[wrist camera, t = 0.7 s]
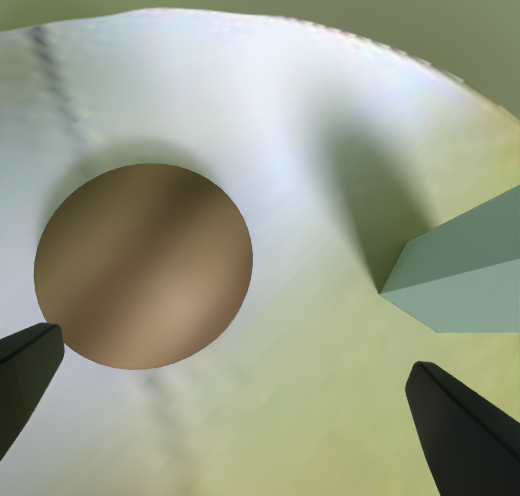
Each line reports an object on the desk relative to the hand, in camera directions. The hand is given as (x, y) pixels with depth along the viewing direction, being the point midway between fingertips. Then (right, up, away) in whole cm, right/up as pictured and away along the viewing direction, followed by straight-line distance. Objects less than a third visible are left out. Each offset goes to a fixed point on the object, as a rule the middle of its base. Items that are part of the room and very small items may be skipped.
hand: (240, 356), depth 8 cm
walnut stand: (-7, +1, +14) cm, 16 cm away
